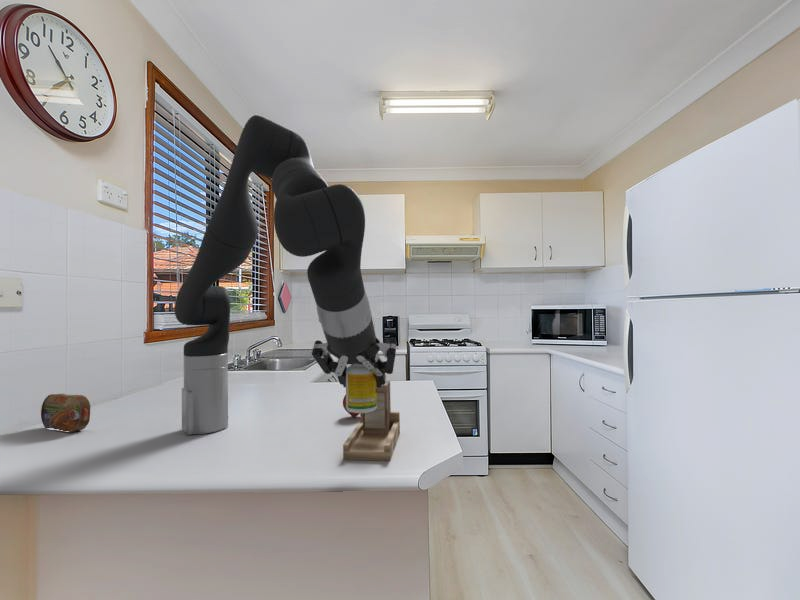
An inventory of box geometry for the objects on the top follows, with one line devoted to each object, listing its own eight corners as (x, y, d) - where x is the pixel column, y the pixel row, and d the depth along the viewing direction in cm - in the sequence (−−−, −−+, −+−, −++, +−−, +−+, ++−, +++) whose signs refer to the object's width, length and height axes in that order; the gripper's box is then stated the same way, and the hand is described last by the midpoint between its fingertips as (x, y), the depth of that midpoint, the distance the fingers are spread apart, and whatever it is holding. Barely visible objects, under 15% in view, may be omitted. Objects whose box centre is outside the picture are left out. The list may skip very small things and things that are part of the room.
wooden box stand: (390, 460, 69) (388, 395, 70) (343, 459, 70) (342, 395, 71) (399, 432, 85) (398, 379, 85) (361, 431, 86) (360, 379, 86)
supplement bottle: (342, 408, 68) (341, 353, 69) (370, 404, 71) (369, 351, 71) (351, 415, 64) (351, 356, 64) (382, 411, 66) (381, 354, 66)
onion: (368, 414, 101) (367, 383, 101) (363, 420, 95) (363, 387, 95) (346, 413, 101) (345, 383, 102) (340, 420, 96) (340, 387, 96)
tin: (39, 428, 93) (39, 393, 93) (54, 425, 96) (55, 390, 96) (78, 435, 88) (78, 397, 88) (93, 431, 90) (93, 394, 91)
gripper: (396, 298, 60) (405, 366, 71) (305, 300, 61) (328, 366, 73) (391, 335, 54) (402, 402, 66) (292, 336, 56) (319, 401, 67)
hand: (363, 383), depth 69 cm, fingers closed on supplement bottle, 5 cm apart
